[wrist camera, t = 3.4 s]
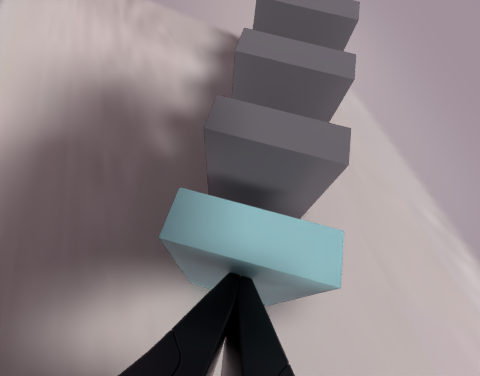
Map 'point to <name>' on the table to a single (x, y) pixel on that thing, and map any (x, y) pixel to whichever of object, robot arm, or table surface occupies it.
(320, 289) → the domino
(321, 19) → the domino
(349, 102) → the table surface
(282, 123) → the domino
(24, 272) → the table surface
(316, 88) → the domino
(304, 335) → the table surface
